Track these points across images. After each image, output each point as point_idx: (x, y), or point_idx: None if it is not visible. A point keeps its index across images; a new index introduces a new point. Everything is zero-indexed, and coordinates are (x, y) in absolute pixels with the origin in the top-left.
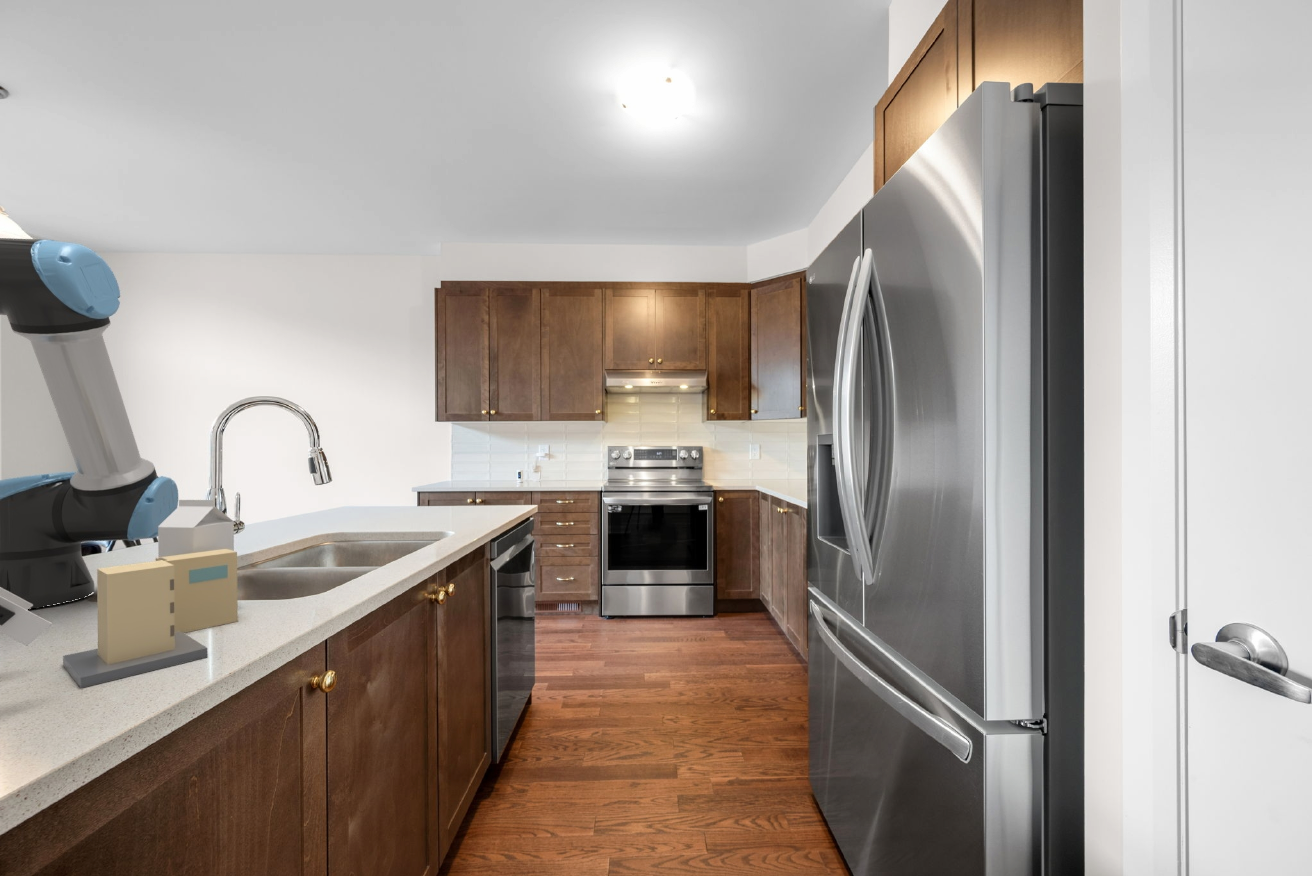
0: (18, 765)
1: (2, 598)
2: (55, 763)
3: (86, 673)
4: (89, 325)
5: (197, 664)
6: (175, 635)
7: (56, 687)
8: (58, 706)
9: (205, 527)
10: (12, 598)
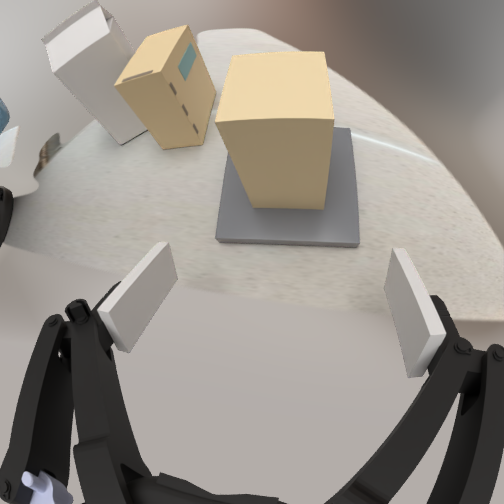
0: None
1: (436, 311)
2: None
3: (344, 234)
4: None
5: (368, 148)
6: None
7: (323, 265)
8: None
9: (112, 28)
10: (154, 266)
